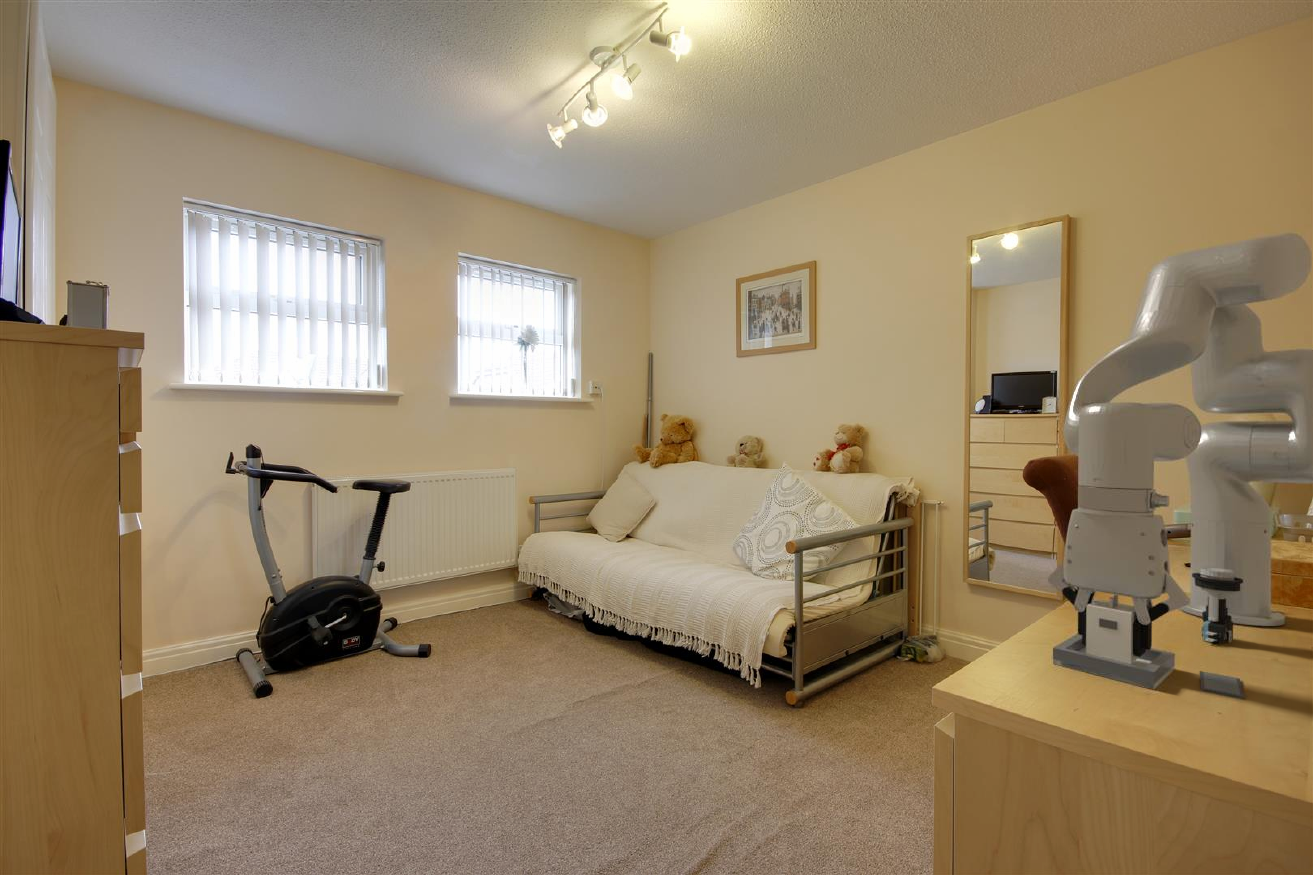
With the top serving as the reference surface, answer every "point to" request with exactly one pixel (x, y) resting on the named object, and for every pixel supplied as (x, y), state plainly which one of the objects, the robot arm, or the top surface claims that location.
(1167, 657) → the dock
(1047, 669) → the top surface
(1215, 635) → the push button
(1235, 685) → the phone
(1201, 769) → the top surface
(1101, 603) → the charger
